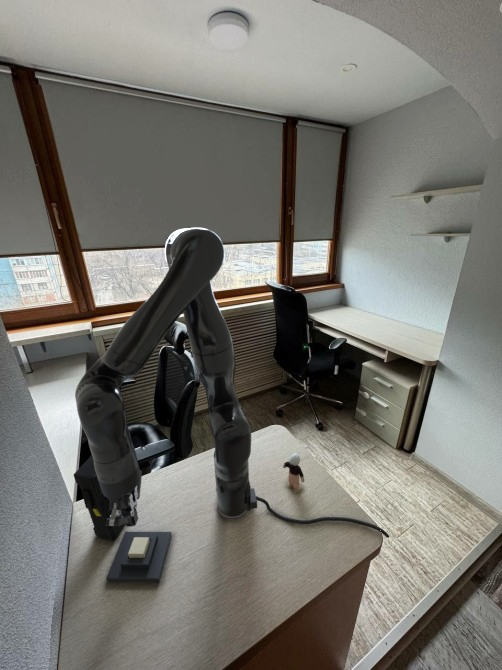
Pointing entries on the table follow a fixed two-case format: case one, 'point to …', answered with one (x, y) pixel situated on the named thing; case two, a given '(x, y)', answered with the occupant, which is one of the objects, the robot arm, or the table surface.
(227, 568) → the table surface
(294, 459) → the grandmother figurine
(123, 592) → the table surface
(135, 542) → the key
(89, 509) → the portable radio
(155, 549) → the push button
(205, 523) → the table surface
